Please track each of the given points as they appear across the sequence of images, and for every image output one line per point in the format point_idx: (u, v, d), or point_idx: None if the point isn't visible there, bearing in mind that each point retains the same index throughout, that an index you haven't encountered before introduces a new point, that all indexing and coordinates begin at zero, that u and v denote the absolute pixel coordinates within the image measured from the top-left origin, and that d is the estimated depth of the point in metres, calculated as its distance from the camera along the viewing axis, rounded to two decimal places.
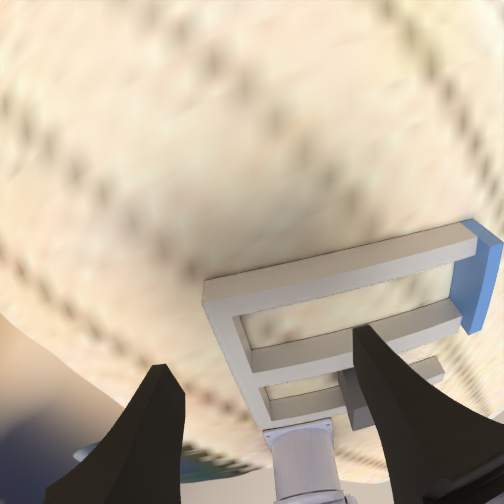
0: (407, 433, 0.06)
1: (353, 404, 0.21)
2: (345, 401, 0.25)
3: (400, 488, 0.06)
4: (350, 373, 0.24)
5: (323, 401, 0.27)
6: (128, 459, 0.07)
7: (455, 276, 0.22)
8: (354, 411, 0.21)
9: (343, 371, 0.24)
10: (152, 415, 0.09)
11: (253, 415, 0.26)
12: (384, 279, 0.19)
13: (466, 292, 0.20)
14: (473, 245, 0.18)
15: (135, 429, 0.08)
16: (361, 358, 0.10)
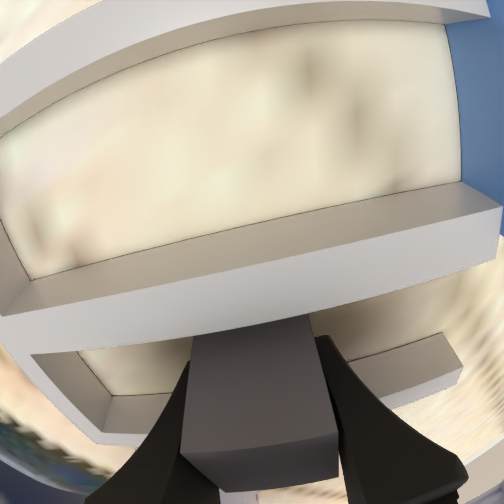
0: (348, 452, 0.06)
1: (183, 437, 0.07)
2: None
3: (351, 503, 0.07)
4: (208, 352, 0.10)
5: None
6: (176, 460, 0.07)
7: (465, 114, 0.08)
8: (187, 456, 0.07)
9: (195, 347, 0.10)
10: None
11: (65, 414, 0.12)
12: (202, 14, 0.05)
13: (501, 133, 0.06)
14: None
15: (180, 428, 0.08)
16: None
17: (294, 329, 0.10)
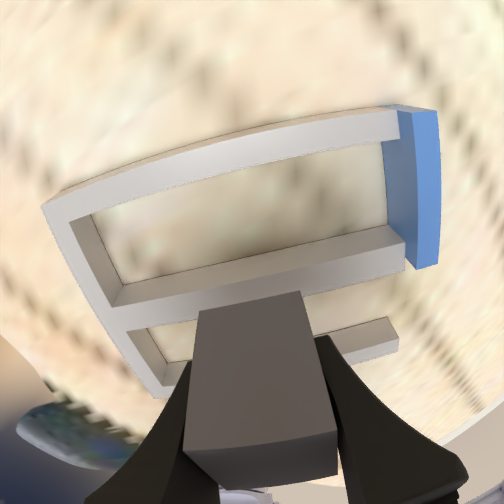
0: (349, 451, 0.06)
1: (185, 435, 0.07)
2: None
3: (352, 503, 0.07)
4: (209, 352, 0.10)
5: None
6: (176, 460, 0.07)
7: (388, 187, 0.17)
8: (190, 454, 0.07)
9: (196, 347, 0.10)
10: None
11: (137, 375, 0.21)
12: (246, 164, 0.14)
13: (403, 203, 0.16)
14: (391, 122, 0.13)
15: (180, 428, 0.08)
16: None
17: (294, 329, 0.10)
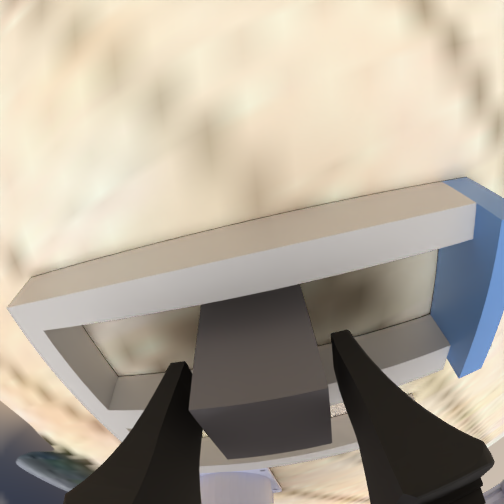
0: (377, 443, 0.06)
1: (191, 397, 0.08)
2: None
3: (375, 496, 0.06)
4: (213, 324, 0.11)
5: None
6: (152, 460, 0.07)
7: (439, 279, 0.13)
8: (195, 415, 0.08)
9: (201, 320, 0.11)
10: (174, 414, 0.09)
11: None
12: (274, 284, 0.10)
13: (457, 307, 0.12)
14: (468, 219, 0.09)
15: (158, 429, 0.08)
16: (338, 364, 0.10)
17: (290, 303, 0.11)
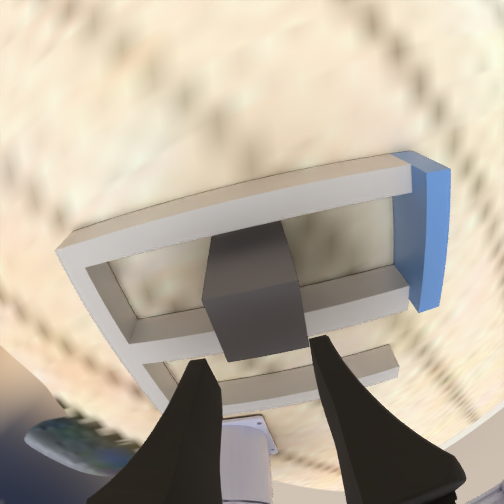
0: (346, 452, 0.06)
1: (203, 292, 0.13)
2: None
3: (350, 503, 0.07)
4: (219, 253, 0.16)
5: (237, 393, 0.23)
6: (179, 460, 0.07)
7: (396, 232, 0.18)
8: (205, 306, 0.13)
9: (210, 252, 0.16)
10: (196, 412, 0.09)
11: (152, 400, 0.22)
12: (262, 220, 0.15)
13: (410, 251, 0.16)
14: (405, 177, 0.14)
15: (182, 428, 0.08)
16: (316, 369, 0.10)
17: (275, 238, 0.16)
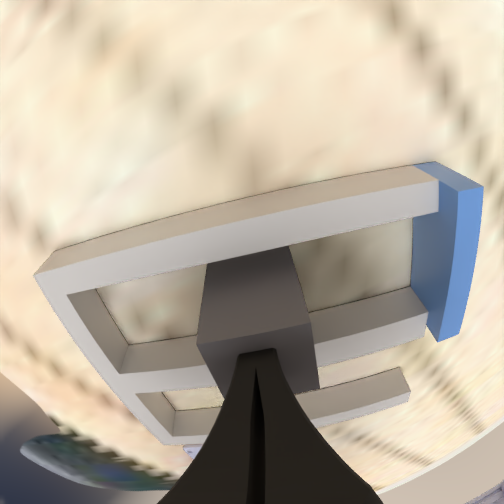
0: (267, 467, 0.06)
1: (198, 334, 0.11)
2: None
3: None
4: (216, 282, 0.14)
5: None
6: (250, 456, 0.06)
7: (415, 252, 0.16)
8: (201, 350, 0.11)
9: (206, 280, 0.14)
10: (255, 405, 0.09)
11: (147, 427, 0.19)
12: (267, 245, 0.13)
13: (431, 275, 0.14)
14: (432, 194, 0.12)
15: (247, 422, 0.08)
16: None
17: (281, 264, 0.14)
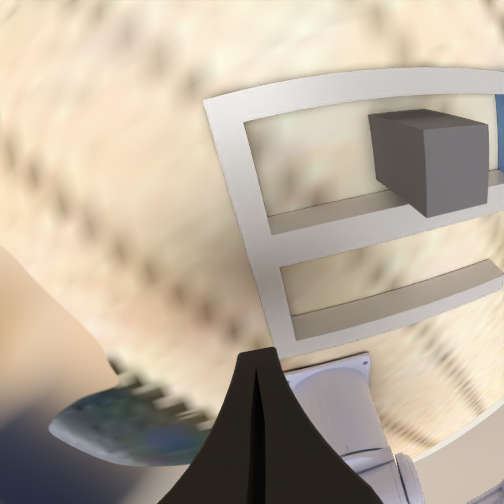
0: (268, 467, 0.06)
1: (418, 128, 0.11)
2: (398, 183, 0.15)
3: None
4: (395, 118, 0.14)
5: (365, 312, 0.21)
6: (250, 456, 0.06)
7: (501, 136, 0.15)
8: (424, 138, 0.11)
9: (384, 118, 0.14)
10: (256, 405, 0.09)
11: (271, 328, 0.19)
12: (432, 90, 0.13)
13: None
14: None
15: (247, 422, 0.08)
16: None
17: (435, 113, 0.14)
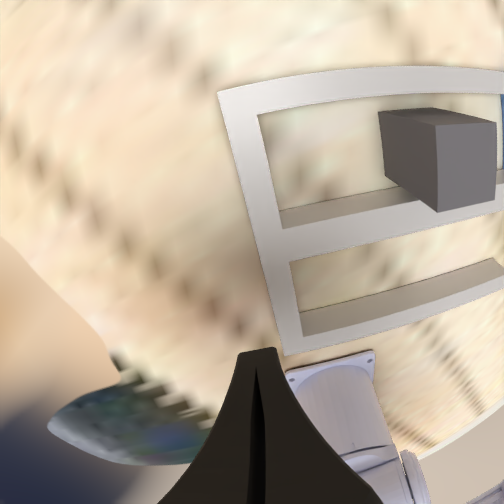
0: (268, 467, 0.06)
1: (430, 123, 0.11)
2: (408, 179, 0.14)
3: None
4: (405, 114, 0.13)
5: (371, 309, 0.21)
6: (250, 456, 0.06)
7: None
8: (436, 134, 0.11)
9: (395, 114, 0.14)
10: (256, 405, 0.09)
11: (278, 324, 0.19)
12: (441, 89, 0.12)
13: None
14: None
15: (247, 422, 0.08)
16: None
17: (444, 111, 0.14)
